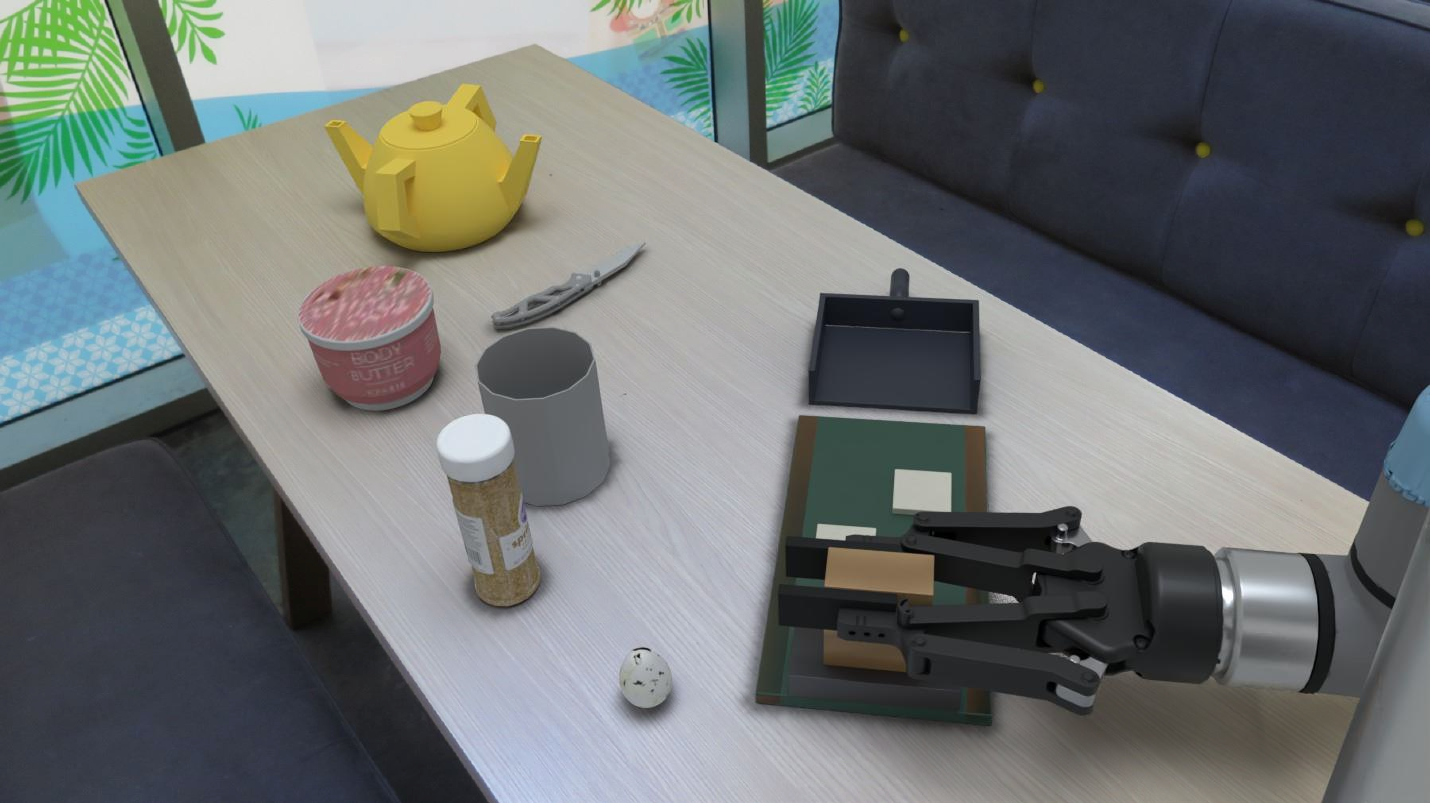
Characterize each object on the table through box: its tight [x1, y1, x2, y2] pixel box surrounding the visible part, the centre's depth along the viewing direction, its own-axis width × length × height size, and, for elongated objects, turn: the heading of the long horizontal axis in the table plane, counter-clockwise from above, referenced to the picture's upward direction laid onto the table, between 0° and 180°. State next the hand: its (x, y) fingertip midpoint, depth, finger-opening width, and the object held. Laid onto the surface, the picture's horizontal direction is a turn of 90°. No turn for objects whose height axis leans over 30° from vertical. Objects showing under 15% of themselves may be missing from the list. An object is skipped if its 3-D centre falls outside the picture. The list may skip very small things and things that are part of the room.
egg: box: [618, 646, 673, 709], centre depth 72 cm, size 3×3×5 cm
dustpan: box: [807, 267, 982, 415], centre depth 98 cm, size 16×13×3 cm
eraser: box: [788, 547, 961, 712], centre depth 70 cm, size 5×10×9 cm, turn 81°
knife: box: [490, 242, 646, 330], centre depth 107 cm, size 2×18×3 cm
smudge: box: [892, 469, 952, 515], centre depth 84 cm, size 4×4×1 cm
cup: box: [474, 326, 612, 507], centre depth 87 cm, size 8×8×10 cm
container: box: [297, 265, 442, 412], centre depth 97 cm, size 10×10×8 cm
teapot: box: [323, 83, 543, 253], centre depth 115 cm, size 17×17×12 cm
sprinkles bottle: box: [435, 413, 542, 607], centre depth 77 cm, size 5×5×13 cm
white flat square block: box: [816, 524, 876, 540], centre depth 80 cm, size 4×4×1 cm
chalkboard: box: [755, 414, 994, 726], centre depth 81 cm, size 26×14×1 cm, turn 171°
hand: (783, 580), depth 69 cm, fingers closed on eraser, 3 cm apart
